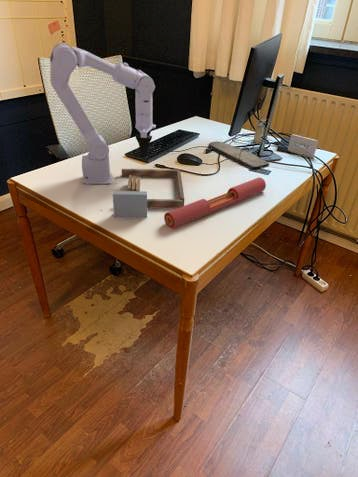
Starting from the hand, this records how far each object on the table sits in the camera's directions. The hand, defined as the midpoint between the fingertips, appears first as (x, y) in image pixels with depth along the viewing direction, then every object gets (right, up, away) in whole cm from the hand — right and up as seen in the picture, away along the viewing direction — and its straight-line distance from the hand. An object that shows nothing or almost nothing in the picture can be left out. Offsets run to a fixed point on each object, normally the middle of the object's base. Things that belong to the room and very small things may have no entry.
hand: (144, 150), depth 129 cm
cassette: (+67, +6, +31) cm, 74 cm away
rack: (+2, -15, -5) cm, 16 cm away
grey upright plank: (-2, -25, -19) cm, 32 cm away
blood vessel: (+26, -22, -12) cm, 36 cm away
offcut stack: (-3, -15, -5) cm, 16 cm away
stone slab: (+37, +3, +26) cm, 46 cm away
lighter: (+51, +15, +42) cm, 68 cm away
